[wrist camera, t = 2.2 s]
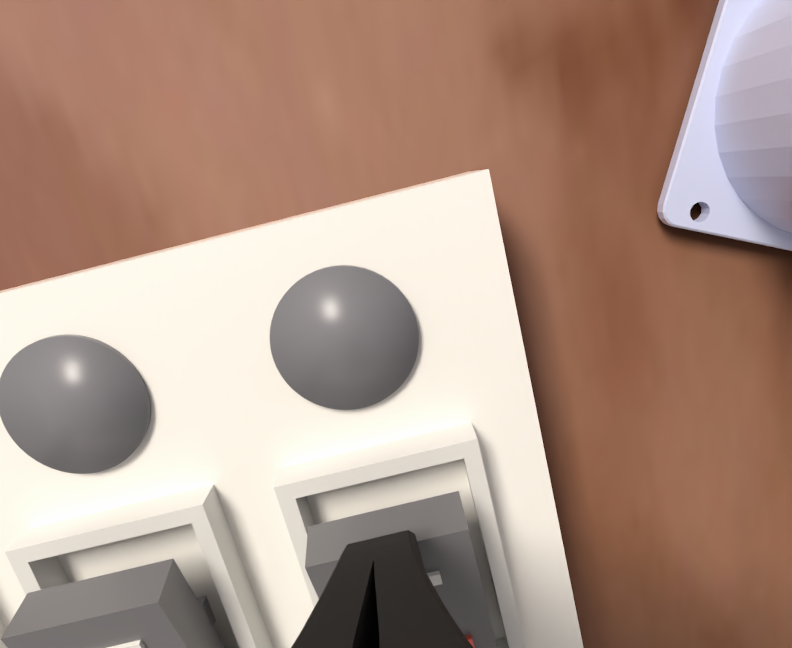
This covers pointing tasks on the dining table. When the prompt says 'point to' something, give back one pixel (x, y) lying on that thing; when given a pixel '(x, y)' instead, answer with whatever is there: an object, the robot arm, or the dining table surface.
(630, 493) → the dining table surface
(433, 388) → the rocker switch panel
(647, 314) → the dining table surface
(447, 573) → the rocker
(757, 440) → the dining table surface
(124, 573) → the rocker middle
